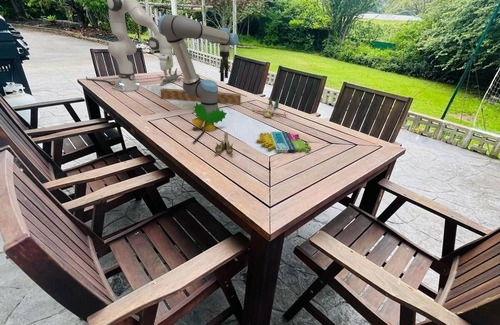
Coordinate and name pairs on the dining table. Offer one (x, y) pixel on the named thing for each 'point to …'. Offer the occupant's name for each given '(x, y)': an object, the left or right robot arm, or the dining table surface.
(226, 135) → the jawbone
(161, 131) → the dining table surface
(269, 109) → the toy
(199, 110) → the ornament
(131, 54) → the left robot arm
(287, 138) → the sign
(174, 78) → the airplane
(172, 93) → the beam
